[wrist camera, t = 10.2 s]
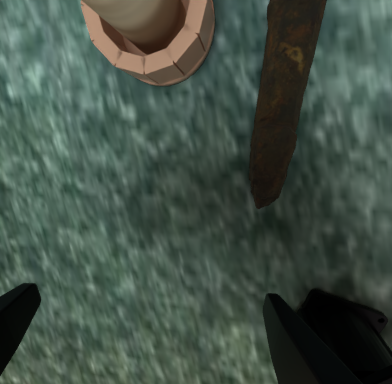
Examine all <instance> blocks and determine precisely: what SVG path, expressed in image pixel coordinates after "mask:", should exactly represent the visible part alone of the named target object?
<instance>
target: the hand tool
mask: <svg viewBox="0 0 392 384" xmlns="http://www.w3.org/2000/svg"><path fill="white" fill-rule="evenodd" d="M326 1H327V0H270V2H269V4H268V7H267V20H268V31H267V37H266V46H265V53H264V60H263V68H262V75H261V83H260V89H259V94H258V101H257V108H256V115H255V121H254V130H253V134H252V139H251V153H250V173H249V180H250V181H251V193H252V194H253V196H254V202H255V206H256V208H257V209H260V208H262V207H264V206H268V205H270V203H272V202H274V201H275V200H276V199H277V198H278V197H279V195H280V193H281V190H282V186H283V184H284V181H285V179H286V176H287V169H288V166H289V163H290V161H291V158H292V155H293V152H294V150H295V146H296V140H297V135H296V133H295V132H296V128H297V125H298V121H299V116H300V110H301V106H302V101H303V95H304V92H305V89H306V86H307V81H308V76H309V72H310V68H311V65H312V62H313V58H314V54H315V49H316V44H317V40H318V35H319V31H320V27H321V23H322V19H323V14H324V10H325V5H326Z"/></svg>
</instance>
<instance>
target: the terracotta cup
mask: <svg viewBox="0 0 392 384" xmlns="http://www.w3.org/2000/svg"><path fill="white" fill-rule="evenodd" d="M182 2H183V5H184V7H185V10H186V14H187V16H186V20H185V25H184V27H183V28H182V29H181V31H180V32H179V33H178V34H177V36H176V37H175V38H174V39H173V41H172V42H171V43H170V45H169V46H168V47H167V48H166V49H163V50H161V51H158V52H155V53H153V54H150V55H146V54H144V53H143V52H142V51H141V50H139V49H138V48H137V47H136V46H135V45H133V44H132V43H131V42H130V41H129V40H128V39H126V38H125V37H124V36H123V35H122V34H120V33H119V32H118V31H117V30H116V29H115V28H113V27H112V26H111V25H110V24H109V23H108V22H106V21H105V20H104V19H103V18H102V17H100V16H99V15H98V14H97V13H96V12H95V11H93V10H92V9H91V8H90V7H89V6H87V5H86V4H85V3H84V2H83V1H82V0H81V4H82V5H83V6H81V8H82V11H83V15H84V18H85V21H86V24H87V28H88V31H89V34H90V37H91V41H93V43H94V45H95V46H96V47H97V48H98V49H99V50H100V51H101V52H102V53H103V54H104V55H105V57H106V58H107V59H108V60H109V61H110V62H111V63H112V64H113V65H114V66H116V67H117V68H119V69H121V70H122V71H124V72H126V73H128V74H130V75H131V76H133V77H135V78H138V79H139V80H141V81H143V82H145V83H148V84H150V85H155V86H171V85H175V84H177V83H180V82H182V81H184V80H186V79H187V78H189V77H190V76H191V75H193V74H194V73H195V72H196V71H197V70H198V69H199V67H200V66H201V65H202V63H203V62H204V60H205V59H206V57H207V55H208V53H209V51H210V48H211V45H212V42H213V37H214V32H215V13H214V6H213V1H212V0H182Z"/></svg>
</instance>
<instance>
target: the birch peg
mask: <svg viewBox="0 0 392 384" xmlns="http://www.w3.org/2000/svg"><path fill="white" fill-rule="evenodd" d="M82 1H83V2H84V3H85V4H86V5H87V6H89V7H90V8H91V9H92V10H93V11H95V12H96V13H97V14H98V15H99V16H100V17H102V18H103V19H104V20H105V21H106V22H108V23H109V24H110V25H111V26H112V27H113V28H115V29H116V30H117V31H118V32H119V33H120V34H122V35H123V36H124V37H125V38H126V39H128V40H129V41H130V42H131V43H132V44H133V45H135V46H136V47H137V48H138V49H139V50H141V51H142V52H143V53H144V54H146V55H150V54H153V53H155V52H158V51H161V50H163V49H166V48H167V47H168V46H169V45H170V43H171V42H172V41H173V39H174V38H175V37H176V36H177V34H178V33H179V32H180V31H181V29H182V28H183V27H184V25H185V20H186V16H187V14H186V10H185V7H184V5H183V2H182V0H82Z"/></svg>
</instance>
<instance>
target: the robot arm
mask: <svg viewBox="0 0 392 384" xmlns="http://www.w3.org/2000/svg"><path fill="white" fill-rule="evenodd" d="M315 295H318V296H317V297H315ZM40 303H41V296H40V293H39V290H38V287H37V285H36V284H35V283H23V284H21V285H19V286H17V287H16V288H14V289H12V290H11V291H9V292H7V293H5V294H4V295H2V296H0V376H1V374H2V372H3V371H4V369H5V368H6V366H7V364H8V363H9V361H10V360H11V358H12V356H13V355H14V353H15V351H16V350H17V348H18V346H19V344H20V343H21V341H22V339H23V337H24V335H25V333H26V331H27V329H28V327H29V325H30V323H31V321H32V319H33V317H34V315H35V313H36V311H37V309H38V307H39V305H40ZM263 317H264V322H265V327H266V333H267V338H268V344H269V349H270V354H271V359H272V362H273V366H274V370H275V373H276V377H277V380H278V384H392V351H391V349H390V348H389V347H388V345H387V344H386V342H385V341H384V339H383V338H382V337H381V335H380V332H381V331H382V329H383V328H384V327H385V325H386V324H387V322H388V319H387V318H386V316H385V315H384V314H383V313H381V312H378V311H376V310H373V309H370V308H367V307H364V306H362V305H359V304H356V303H353V302H350V301H348V300H345V299H342V298H339V297H337V296H334V295H331V294H328V293H325V292H323V291H320V290H316V289H315V290H312V291H311V292H310V293H309V295H308V297H307V299H306V301H305V303H304V305H303V306H302V307H301V308H300V309H299V311H298V312H297V314H296V313H295V312H294V311H293V309H292V308H291V307H290V306H289V305H288V304H287V303H286V302H285V301H284V300H283V299H282V298H281V297H280V296H279V295H278V294H275V293H267V294H266V297H265V301H264V305H263ZM379 318H381V319H379Z"/></svg>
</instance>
